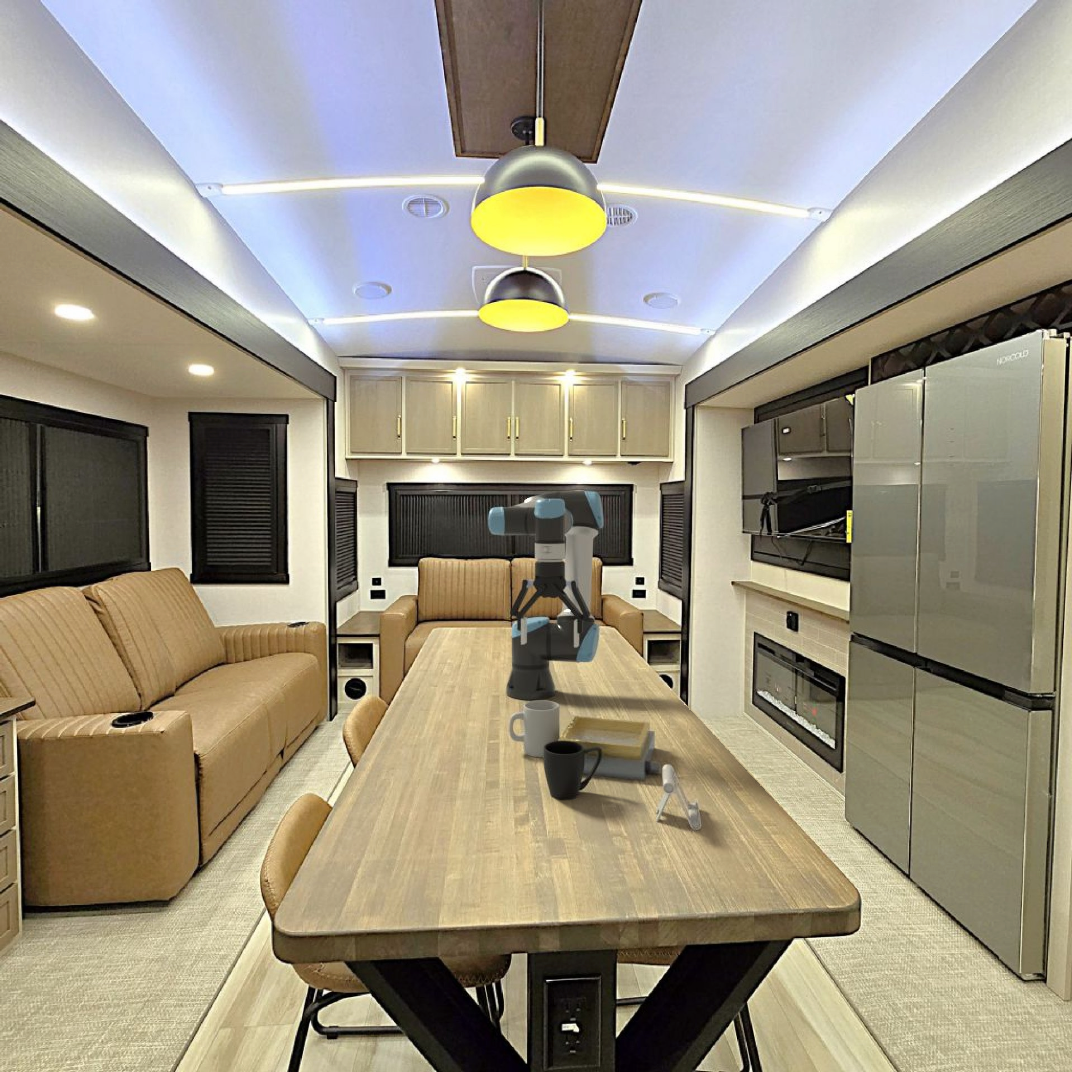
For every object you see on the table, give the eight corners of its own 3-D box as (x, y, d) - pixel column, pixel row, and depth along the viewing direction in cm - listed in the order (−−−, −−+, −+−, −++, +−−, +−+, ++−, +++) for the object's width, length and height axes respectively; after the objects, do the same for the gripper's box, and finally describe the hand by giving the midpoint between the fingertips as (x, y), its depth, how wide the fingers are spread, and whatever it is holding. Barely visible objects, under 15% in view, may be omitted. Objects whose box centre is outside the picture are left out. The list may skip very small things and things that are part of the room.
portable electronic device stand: (701, 831, 118) (701, 784, 118) (656, 827, 120) (656, 781, 119) (698, 809, 127) (698, 766, 126) (656, 806, 128) (656, 763, 128)
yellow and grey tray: (552, 770, 145) (552, 741, 145) (572, 739, 164) (572, 714, 164) (657, 782, 139) (657, 751, 139) (666, 749, 158) (666, 722, 158)
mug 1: (556, 743, 162) (556, 699, 161) (562, 756, 153) (562, 709, 153) (507, 746, 160) (507, 701, 160) (510, 759, 152) (510, 712, 151)
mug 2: (607, 799, 131) (607, 751, 130) (548, 804, 129) (548, 756, 128) (596, 782, 139) (596, 737, 139) (539, 787, 137) (539, 741, 136)
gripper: (497, 560, 166) (497, 645, 167) (596, 562, 159) (596, 650, 160) (506, 558, 173) (507, 639, 174) (601, 560, 167) (601, 644, 167)
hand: (549, 645), depth 167 cm, fingers open, 13 cm apart
